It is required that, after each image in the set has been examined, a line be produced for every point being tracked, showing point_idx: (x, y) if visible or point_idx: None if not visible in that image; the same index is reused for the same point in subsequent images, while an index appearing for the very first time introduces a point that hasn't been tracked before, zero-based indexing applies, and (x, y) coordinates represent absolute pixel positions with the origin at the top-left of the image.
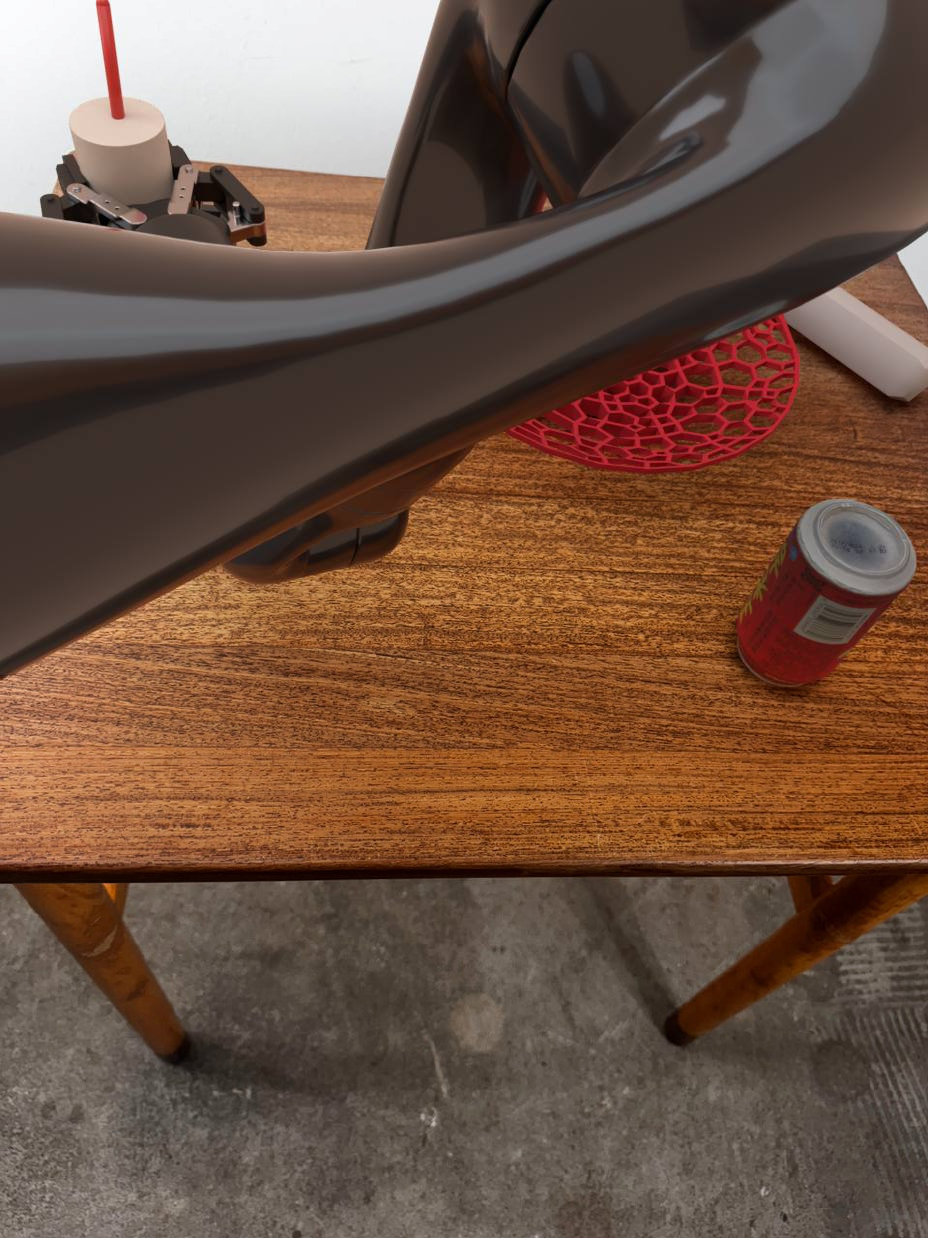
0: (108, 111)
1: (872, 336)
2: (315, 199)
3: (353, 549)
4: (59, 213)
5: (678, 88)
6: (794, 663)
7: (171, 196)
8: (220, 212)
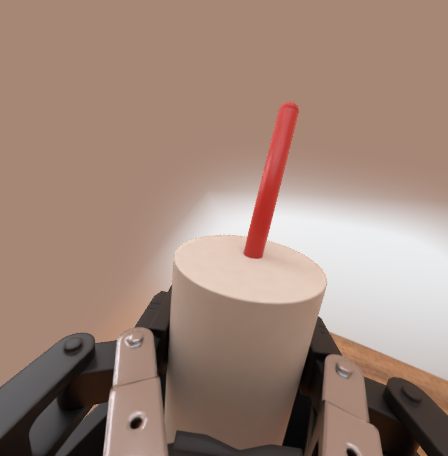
0: (242, 247)
1: None
2: (377, 366)
3: None
4: (34, 397)
5: None
6: None
7: (292, 398)
8: None
